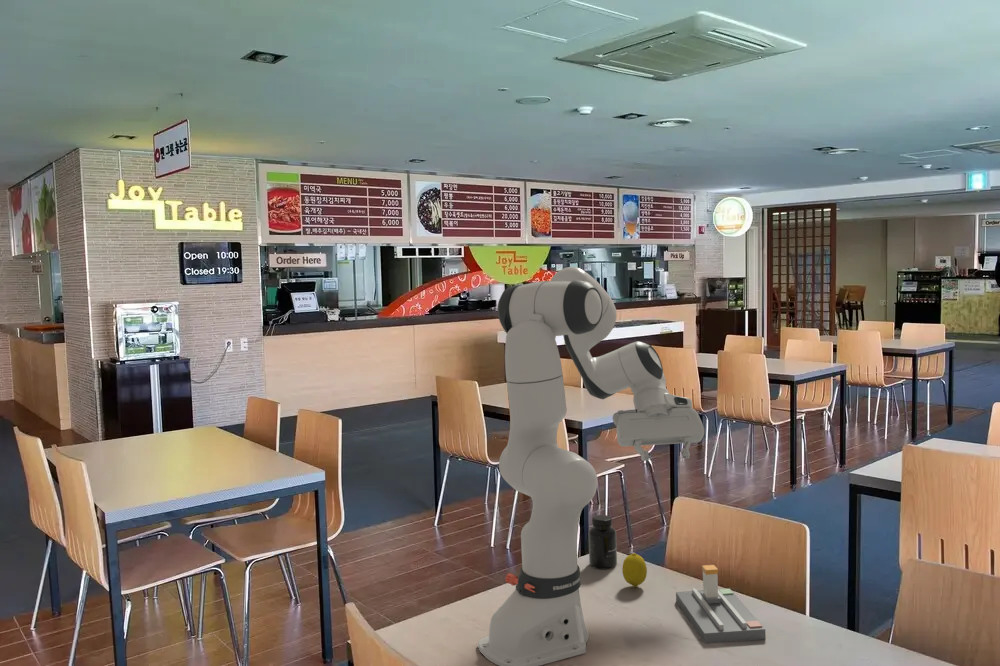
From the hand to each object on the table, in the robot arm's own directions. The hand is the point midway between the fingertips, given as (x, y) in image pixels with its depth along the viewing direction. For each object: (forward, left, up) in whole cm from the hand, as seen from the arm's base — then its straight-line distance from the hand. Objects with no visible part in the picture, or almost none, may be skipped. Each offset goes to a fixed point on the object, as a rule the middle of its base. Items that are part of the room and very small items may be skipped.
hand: (666, 458), depth 181 cm
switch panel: (-7, -19, -29) cm, 36 cm away
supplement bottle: (-4, +19, -30) cm, 35 cm away
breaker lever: (-4, -16, -27) cm, 32 cm away
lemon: (-8, +4, -30) cm, 31 cm away
